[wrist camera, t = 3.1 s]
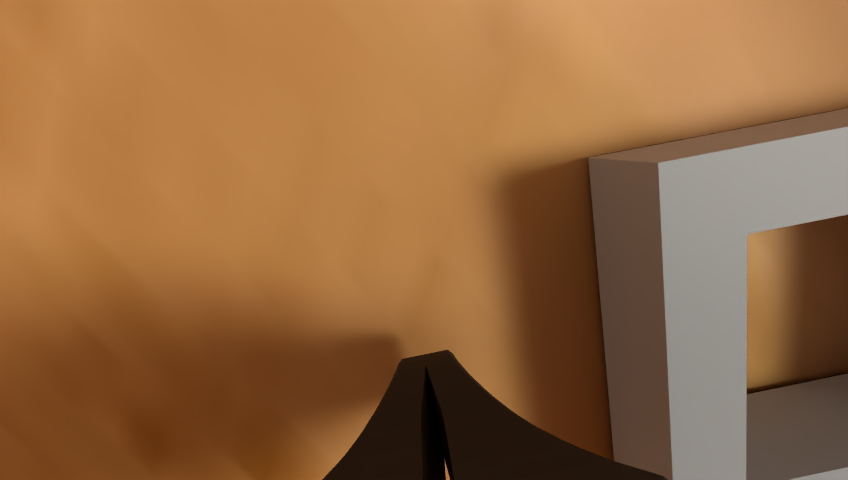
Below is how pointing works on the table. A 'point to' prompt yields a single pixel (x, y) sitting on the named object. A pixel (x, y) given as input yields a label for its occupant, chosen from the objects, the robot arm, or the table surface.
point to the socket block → (712, 300)
